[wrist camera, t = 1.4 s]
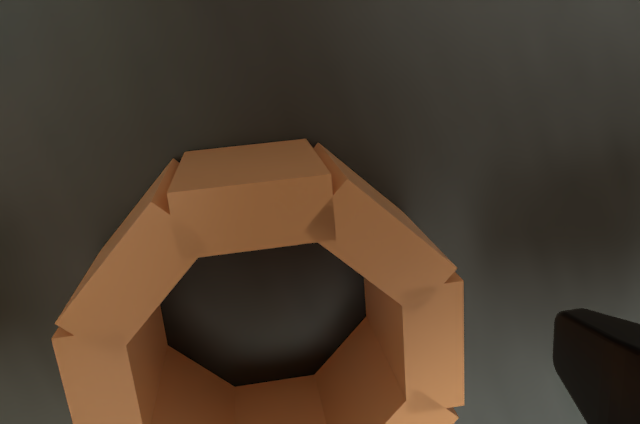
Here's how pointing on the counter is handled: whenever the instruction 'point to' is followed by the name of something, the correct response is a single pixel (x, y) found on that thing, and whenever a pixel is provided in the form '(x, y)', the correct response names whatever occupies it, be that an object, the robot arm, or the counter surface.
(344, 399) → the ring
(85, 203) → the counter surface
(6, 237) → the counter surface
